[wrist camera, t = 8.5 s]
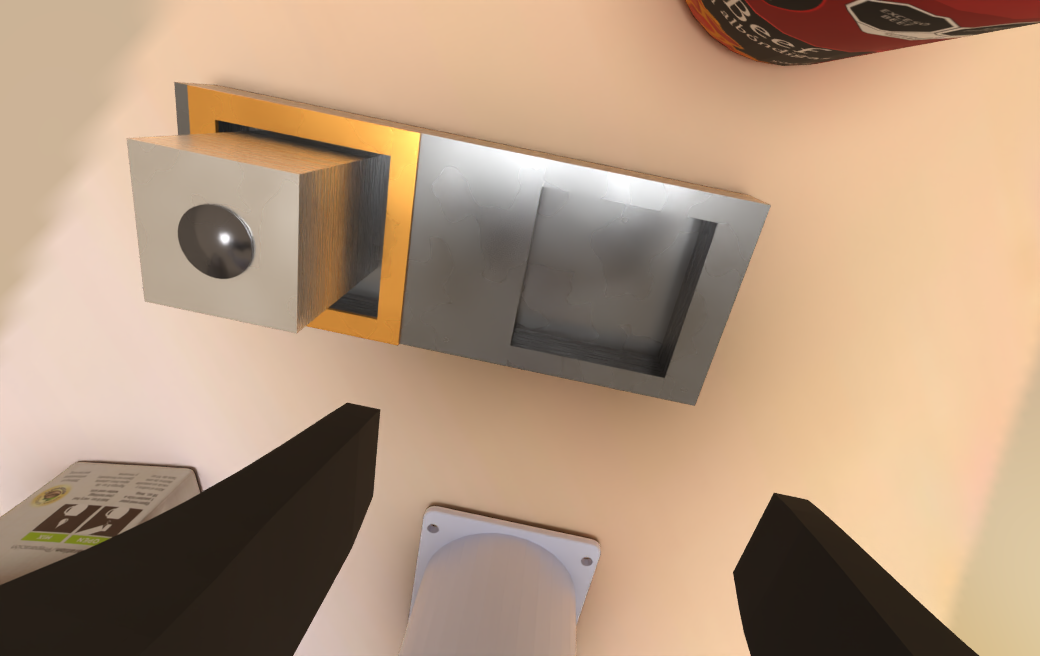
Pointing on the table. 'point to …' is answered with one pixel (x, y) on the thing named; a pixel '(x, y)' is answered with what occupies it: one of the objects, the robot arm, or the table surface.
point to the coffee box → (86, 511)
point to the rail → (525, 250)
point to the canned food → (850, 25)
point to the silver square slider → (254, 223)
